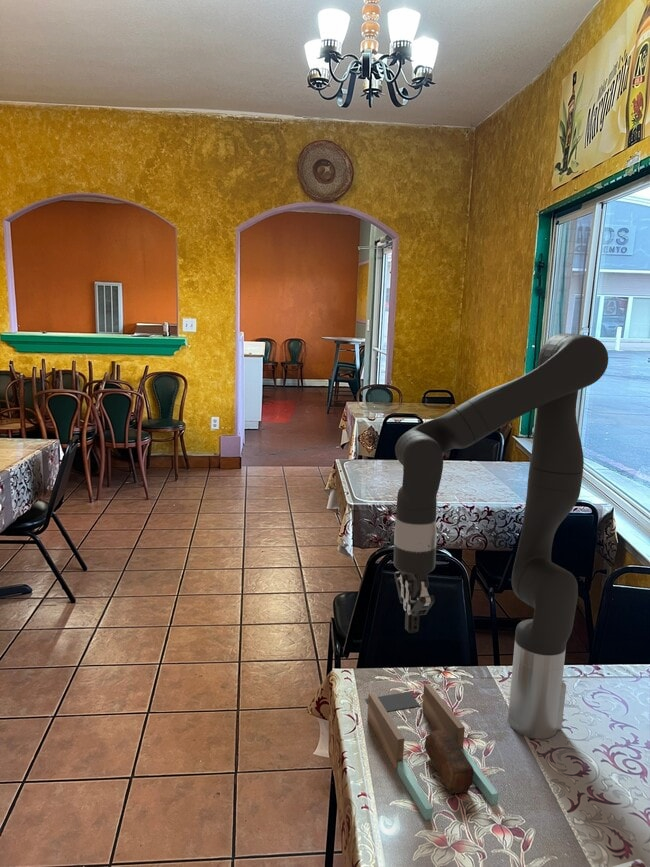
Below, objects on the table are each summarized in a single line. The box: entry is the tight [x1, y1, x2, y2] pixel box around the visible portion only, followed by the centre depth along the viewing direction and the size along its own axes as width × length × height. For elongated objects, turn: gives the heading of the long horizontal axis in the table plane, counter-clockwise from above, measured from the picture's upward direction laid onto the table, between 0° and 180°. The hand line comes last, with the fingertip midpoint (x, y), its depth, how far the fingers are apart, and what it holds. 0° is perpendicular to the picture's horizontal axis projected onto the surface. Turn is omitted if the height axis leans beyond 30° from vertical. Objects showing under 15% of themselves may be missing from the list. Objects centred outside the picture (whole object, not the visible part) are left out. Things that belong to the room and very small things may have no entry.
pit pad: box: [364, 691, 421, 713], centre depth 130 cm, size 10×5×1 cm, turn 107°
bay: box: [396, 748, 499, 821], centre depth 107 cm, size 13×11×2 cm
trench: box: [366, 683, 466, 771], centre depth 119 cm, size 13×14×6 cm
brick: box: [424, 729, 474, 795], centre depth 110 cm, size 11×4×5 cm, turn 15°
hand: (411, 630), depth 119 cm, fingers closed
